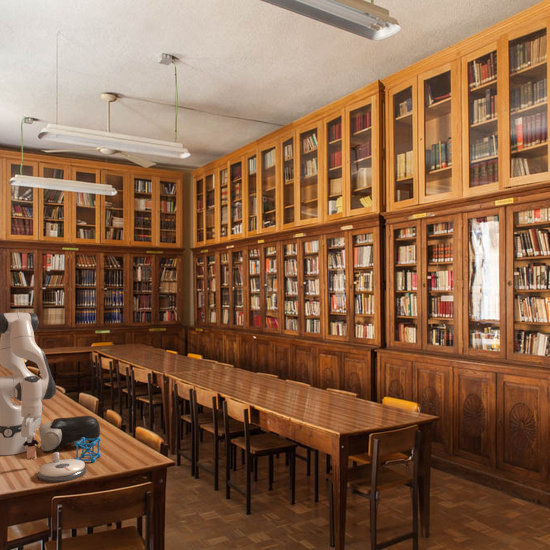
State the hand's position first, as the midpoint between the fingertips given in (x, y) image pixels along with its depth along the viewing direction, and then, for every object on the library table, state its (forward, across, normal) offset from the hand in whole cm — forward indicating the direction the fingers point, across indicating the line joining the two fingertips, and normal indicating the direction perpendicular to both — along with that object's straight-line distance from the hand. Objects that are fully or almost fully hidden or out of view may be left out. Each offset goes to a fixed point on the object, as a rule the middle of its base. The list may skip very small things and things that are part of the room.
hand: (31, 441), depth 246 cm
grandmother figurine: (+9, 0, 0) cm, 9 cm away
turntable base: (+12, -12, -17) cm, 24 cm away
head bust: (+14, +30, -12) cm, 35 cm away
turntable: (+10, -12, -17) cm, 23 cm away
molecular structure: (+13, +7, -25) cm, 29 cm away
